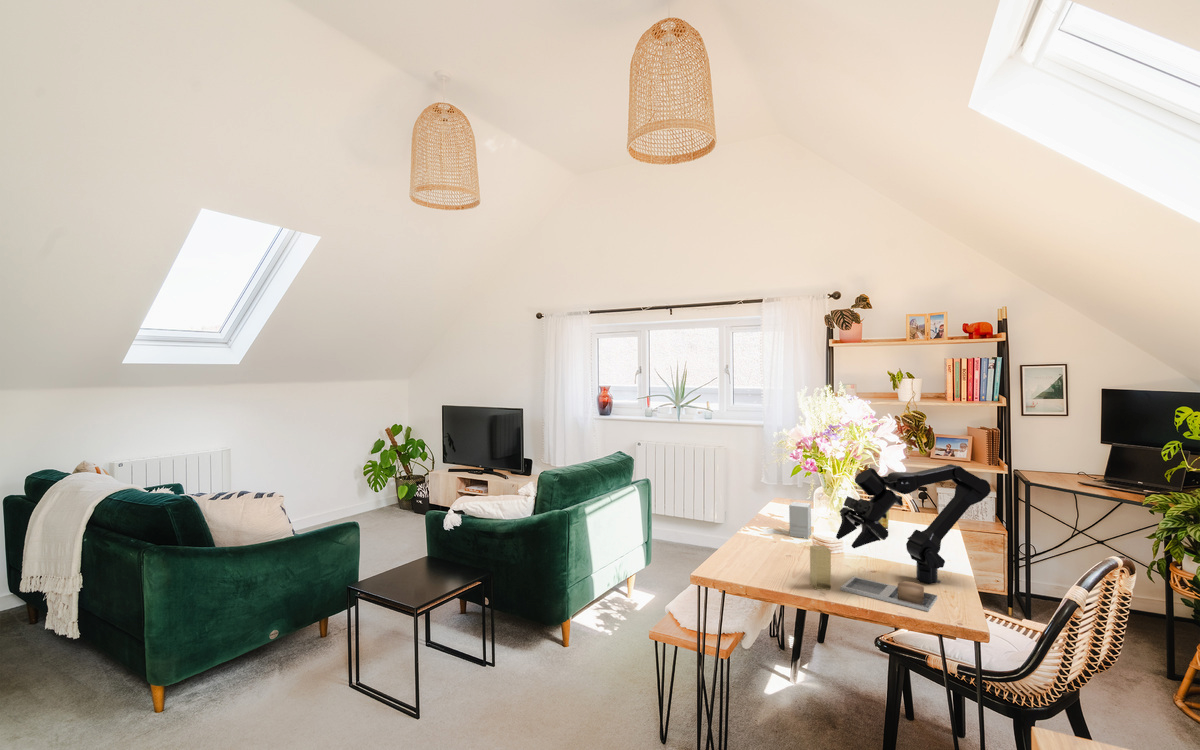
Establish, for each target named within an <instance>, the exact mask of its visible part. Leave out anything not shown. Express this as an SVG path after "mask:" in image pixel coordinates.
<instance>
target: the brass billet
mask: <svg viewBox="0 0 1200 750" xmlns="http://www.w3.org/2000/svg"><path fill="white" fill-rule="evenodd" d="M809 551H810V552H809V577H810V578H809V585H810V586H811V585H812V586H811V587H812V588H814V589H815V588H816V589H826V590H827V589H828V590H831V586H832V585H831V581H832V578H831V577H832V575H831V574H832V571H831V570H832V568H831V567H832V565H831V562H832V559H831V558H832V551H831V549H830V548H829V547H827V546H825V545H810V546H809ZM816 589H815V590H816ZM828 590H827V591H828Z"/></svg>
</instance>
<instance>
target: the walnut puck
mask: <svg viewBox="0 0 1200 750" xmlns="http://www.w3.org/2000/svg"><path fill="white" fill-rule="evenodd" d="M897 586H898V599H899V600H903V601H907V602H911V603H915V604H923V603H924V592H925V588H924V586H923V585H922V584H921V583H917V582H913V581H899V582H897Z"/></svg>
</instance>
